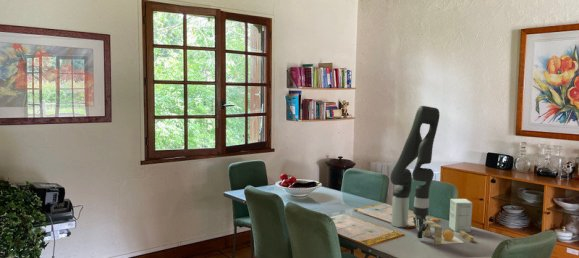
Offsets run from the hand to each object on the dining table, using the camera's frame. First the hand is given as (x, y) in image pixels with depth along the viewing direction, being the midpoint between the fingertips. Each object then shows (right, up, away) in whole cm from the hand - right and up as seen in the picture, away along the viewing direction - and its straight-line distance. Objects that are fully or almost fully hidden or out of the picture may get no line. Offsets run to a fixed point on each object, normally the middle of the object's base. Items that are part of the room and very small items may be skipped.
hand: (419, 237), depth 239 cm
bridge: (+7, -2, +1) cm, 7 cm away
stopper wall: (+27, -2, +5) cm, 27 cm away
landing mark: (+16, -2, +3) cm, 16 cm away
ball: (+16, +1, +1) cm, 16 cm away
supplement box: (+29, 0, +21) cm, 36 cm away
